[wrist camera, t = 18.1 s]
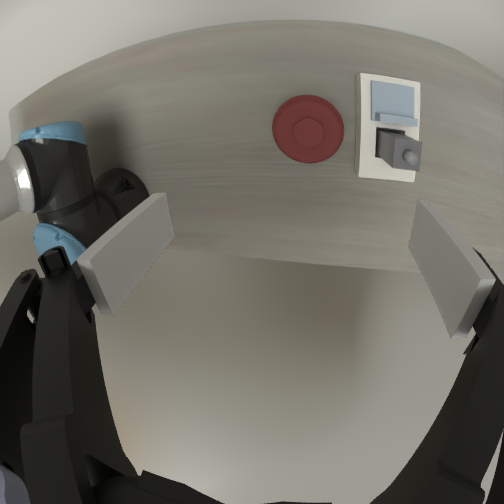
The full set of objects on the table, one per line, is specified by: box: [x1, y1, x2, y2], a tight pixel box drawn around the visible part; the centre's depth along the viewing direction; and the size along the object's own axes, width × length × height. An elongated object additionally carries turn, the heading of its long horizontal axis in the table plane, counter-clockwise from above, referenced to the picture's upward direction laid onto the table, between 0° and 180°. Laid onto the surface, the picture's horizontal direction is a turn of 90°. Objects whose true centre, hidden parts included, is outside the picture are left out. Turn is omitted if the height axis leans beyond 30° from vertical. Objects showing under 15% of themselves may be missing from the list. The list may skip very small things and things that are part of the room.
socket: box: [355, 73, 420, 182], centre depth 37 cm, size 10×17×4 cm, turn 3°
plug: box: [375, 128, 422, 171], centre depth 34 cm, size 4×4×14 cm
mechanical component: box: [272, 95, 344, 163], centre depth 36 cm, size 12×10×10 cm
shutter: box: [371, 80, 418, 127], centre depth 31 cm, size 7×6×4 cm
